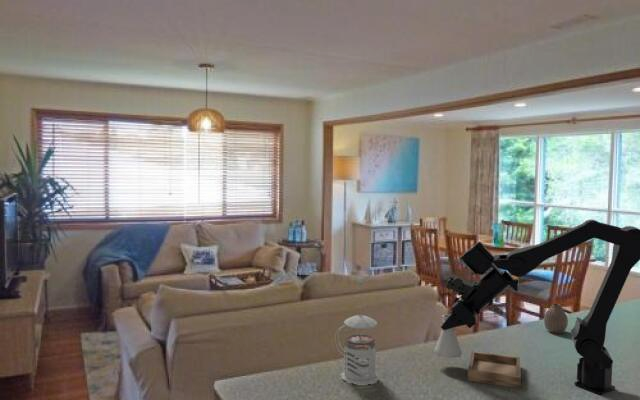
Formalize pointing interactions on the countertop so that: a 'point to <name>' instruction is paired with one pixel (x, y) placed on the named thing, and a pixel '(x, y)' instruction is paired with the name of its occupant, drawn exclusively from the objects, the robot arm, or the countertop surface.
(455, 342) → the flask
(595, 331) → the robot arm
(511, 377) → the wooden tray
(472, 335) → the countertop surface
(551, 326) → the vase
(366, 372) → the french press
